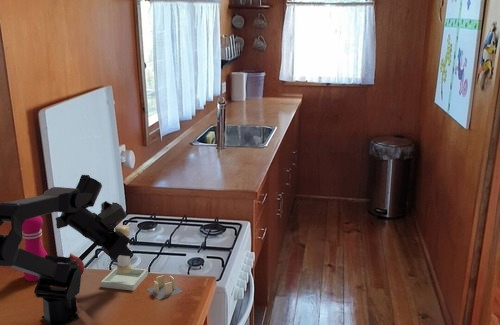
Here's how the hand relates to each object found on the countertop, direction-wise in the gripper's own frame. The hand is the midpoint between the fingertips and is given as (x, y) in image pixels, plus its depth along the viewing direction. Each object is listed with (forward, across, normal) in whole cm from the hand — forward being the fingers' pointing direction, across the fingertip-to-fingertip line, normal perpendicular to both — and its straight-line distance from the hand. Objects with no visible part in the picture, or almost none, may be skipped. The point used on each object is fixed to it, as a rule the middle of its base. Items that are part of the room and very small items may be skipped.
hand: (128, 252), depth 132 cm
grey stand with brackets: (+10, -11, +3) cm, 15 cm away
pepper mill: (-7, +20, +20) cm, 29 cm away
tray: (+6, 0, +8) cm, 10 cm away
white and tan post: (+3, 0, +5) cm, 5 cm away
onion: (-1, +12, +15) cm, 19 cm away
